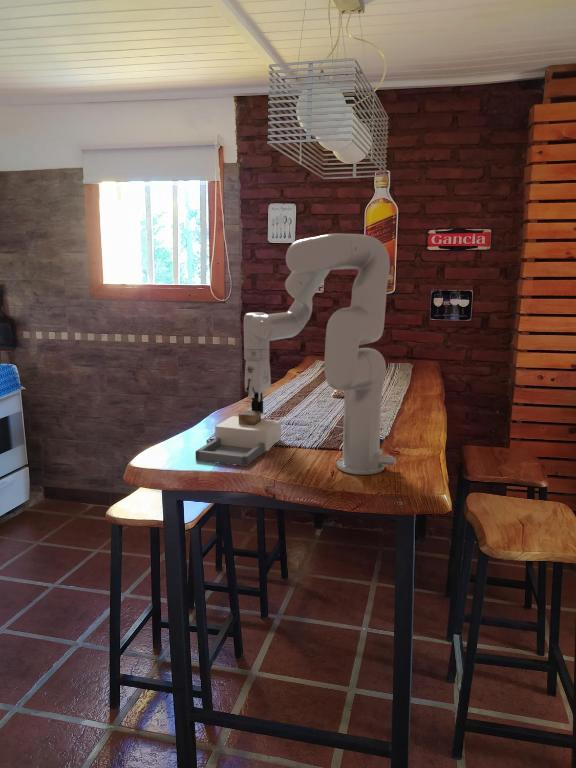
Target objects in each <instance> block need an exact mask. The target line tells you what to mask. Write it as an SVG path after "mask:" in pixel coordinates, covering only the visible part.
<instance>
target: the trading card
mask: <svg viewBox="0 0 576 768" xmlns="http://www.w3.org/2000/svg"><path fill="white" fill-rule="evenodd" d="M321 426H327V427H335V428H341V429H343V426H339V425H338V426H337V425H333V424H332V425H331V424H326V423H322V424H320V425H317V426H315V427H313V428H311V429H308V430H307V431H308V432H310V431H313V430H314V428H315V429H317V428H319V427H321ZM312 429H313V430H312ZM307 431H305V432H306V433H308V432H307ZM305 432H303V433H304V434H306V433H305ZM303 433H301V434H302V435H304V434H303ZM301 434H299V435H300V436H302V435H301ZM338 435H339V436H341V435H343V432H342V433H340V434H338ZM338 435H336V436H338ZM339 436H338V437H339Z"/></svg>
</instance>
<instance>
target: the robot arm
mask: <svg viewBox="0 0 576 768" xmlns="http://www.w3.org/2000/svg"><path fill="white" fill-rule="evenodd" d="M390 261H391V260H390V255H389V252H388V250H387V248H386V246H385V245H384V243H382V241H380V240H379V239H377V238H376V237H374V236H371V235H367V234H362V233H361V234H360V233H340V232H339V233H335V232H334V233H327V234H321V235H318V236H313V237H307V238H302V239H298V240H295V241H294V242H292V244H291V245H289V247H288V248H287V251H286V254H285V263H286V266H287V268H288V269H289V270H290V271H291V273H290V274H289V275H288V277H287V278H286V280H285V283H284V287H285V290H286V292H287V293H288V295H290V296H291V297H292V298H293V299H294V301H293V302H292V304H291V306H290V307H289V309H288V310H287V311H286V312H276V313H269V314H268V313H266V312H261V311H259V312H255V311H253V312H246V313H245V314H244V317H243V348H244V349H243V352H244V353H243V354H244V355H243V356H244V358H243V359H244V360H245V365H244V391H245V392H246V393H248V394H247V395H248V398H249V399H250V402H251V403H250V404H251V411H259V412H261V415H262V414H264V400H265V399H264V398H265V397H264V396H265V392H266V391H268V390H269V389H270V388H271V387H272V382H271V381H272V378H271V375H272V374H271V365H270V341H276V340H277V341H278V340H283V339H290V338H294V337H296V336H298V335H299V333H300V332H302V331H303V329H304V328H305V326H306V324H307V323H308V322H309V320H310V317H311V315H312V312H313V305H314V304H313V297H314V295H315V294H316V293H317V291H318V289H319V288H320V287H321V285H322V283H323V282H324V280H325V279H326V277H327V276H328V274H330V272H331V271H332V270H333V271H335V270H353V269H354V270H357V271H358V273H357V275H356V277H355V279H354V282H353V283H352V288H351V301H350V306H348V307H342V308H340V309H337V310H336V311H334V312H333V313H332V314H331V316H330V318H329V319H328V322H327V325H326V331H325V342H324V344H325V345H324V361H323V362H324V363H323V364H324V365H323V369H324V377H325V379H326V383H327V384H328V385H329V386H330V388H331V389H333V390H335V391H340V392H345V395H344V401H343V423H342V424H343V426H342V427H343V428H342V429H343V432H342V433H343V434H342V435H343V436H342V457H340V458H338V459H337V461H336V467H337V469H338V470H340V471H341V472H344V473H347V474H351V475H358V476H359V475H360V476H362V475H364V476H367V475H374V474H379V473H380V472H383V471H384V470H385V468H386V467H385V466H386V465H387V466H394V467H395V466H396V462H397V461H396V460H397V459H396V458H395V457H393V455H385V453H383V449H382V448H380V443H381V442H380V441H381V440H380V439H381V413H382V396H383V389H384V388H383V387H384V384H385V379H386V373H387V364H386V361H385V358H384V356H383V354H381V352H380V351H379V350H376V349H375V348H372V347H371V348H370V347H359V346H363V345H367V344H372V343H375V342H377V341H379V340H380V339H381V337H382V336H383V332H384V330H385V329H384V328H385V317H386V306H387V305H386V303H387V289H388V282H389V276H390V270H391V269H390V268H391V264H390Z"/></svg>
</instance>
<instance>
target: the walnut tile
mask: <svg viewBox="0 0 576 768" xmlns="http://www.w3.org/2000/svg"><path fill="white" fill-rule="evenodd" d="M238 417H239V424H243V425H253V426H255V425H256V424H258V423H259V422H261V419H262V414H261V412H259V411H252V410H243V411H242V412H240V413H238Z"/></svg>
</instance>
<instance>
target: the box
mask: <svg viewBox="0 0 576 768" xmlns="http://www.w3.org/2000/svg"><path fill="white" fill-rule="evenodd" d="M262 453H263V454H264V453H266V452H265V443H260V444H258V445H257V446H256V447H254V448H244V447H236V446H227V445H221V439H220V438H216V439H215V438H214V439H212V440H211V441H209V442H208V443H206V444H205V445H203V446H201V447H200V448H198V449H196V450H195V461H198V462H207V463H213V462H219V463H218V464H221V463H229V464H236V465H243V466H242V467H244V466H247V465H248V464H249V463H250V462H252V461H253V460H254V459H255V460H257V457H258V456H259V457H260V456H262V455H263V454H262ZM259 457H258V458H259ZM255 460H254V461H255ZM254 461H253V462H254ZM253 462H252V463H253ZM229 464H228V465H229ZM250 464H251V463H250ZM250 464H249V465H250ZM236 465H235V466H236ZM249 465H248V466H249ZM248 466H247V467H248Z"/></svg>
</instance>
